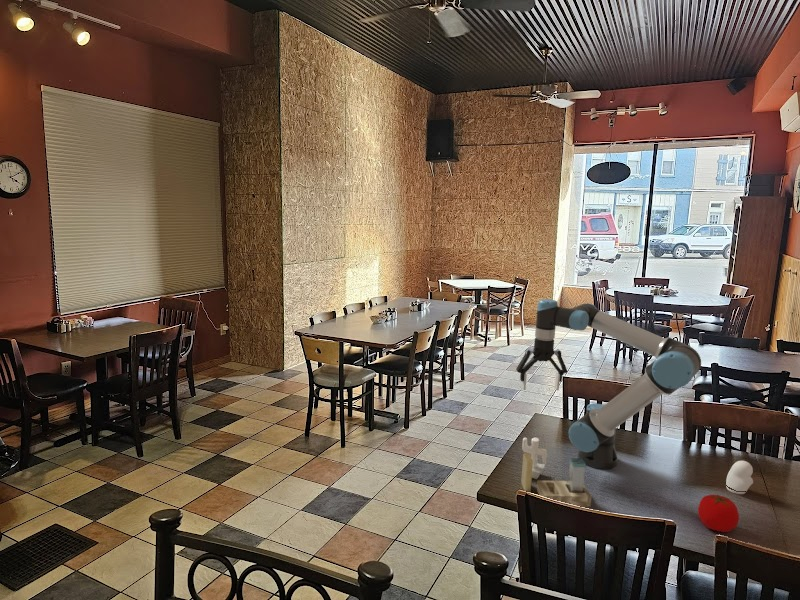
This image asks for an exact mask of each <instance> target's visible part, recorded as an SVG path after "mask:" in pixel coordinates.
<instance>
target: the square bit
mask: <svg viewBox="0 0 800 600" xmlns="http://www.w3.org/2000/svg"><path fill="white" fill-rule="evenodd" d="M586 466H587V465H586V464H585V462H584V461H583V459H582V458H578V457H577V458H575V457H569V470H568V480H567V481H568V490H569V492H570V493H583V485H584V486H585V483H584V482H585V473H586V472H585V471H586Z"/></svg>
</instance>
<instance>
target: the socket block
mask: <svg viewBox="0 0 800 600" xmlns="http://www.w3.org/2000/svg"><path fill="white" fill-rule="evenodd" d="M536 481H537V483H536V493H537V494H538V496H539V495H542V496H544V497H547V498H550V499H553V500H557V501H561V502H565V503H569V504H573V505H577V506H581V507H580V508H591V505H592V495H591V493H590V492H589V491H588V489H587V487H586V486H585V484H584V485H583V493H570V492H569V490H568V480H538V479H537V480H536Z"/></svg>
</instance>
